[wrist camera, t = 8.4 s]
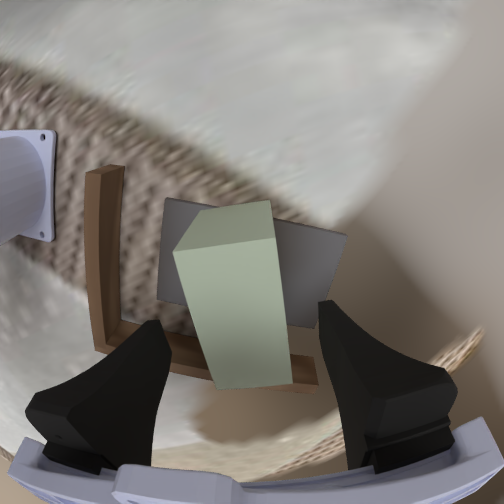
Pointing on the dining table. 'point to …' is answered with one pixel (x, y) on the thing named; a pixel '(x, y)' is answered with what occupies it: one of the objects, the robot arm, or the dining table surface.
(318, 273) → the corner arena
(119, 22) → the dining table surface
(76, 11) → the dining table surface
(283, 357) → the sage block
